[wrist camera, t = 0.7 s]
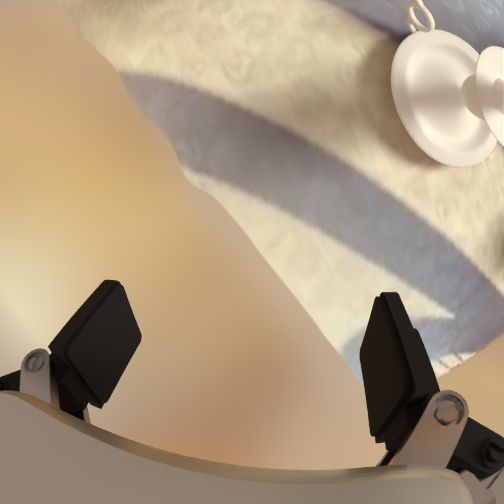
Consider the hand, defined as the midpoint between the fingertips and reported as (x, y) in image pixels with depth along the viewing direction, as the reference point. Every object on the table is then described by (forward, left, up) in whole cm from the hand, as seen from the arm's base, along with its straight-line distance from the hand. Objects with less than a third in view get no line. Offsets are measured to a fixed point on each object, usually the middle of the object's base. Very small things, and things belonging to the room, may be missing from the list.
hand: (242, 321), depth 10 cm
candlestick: (-27, +5, -31) cm, 41 cm away
